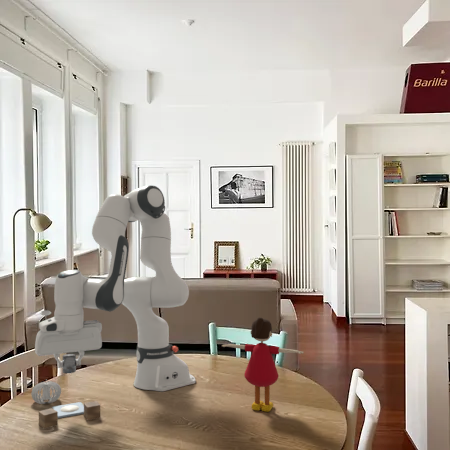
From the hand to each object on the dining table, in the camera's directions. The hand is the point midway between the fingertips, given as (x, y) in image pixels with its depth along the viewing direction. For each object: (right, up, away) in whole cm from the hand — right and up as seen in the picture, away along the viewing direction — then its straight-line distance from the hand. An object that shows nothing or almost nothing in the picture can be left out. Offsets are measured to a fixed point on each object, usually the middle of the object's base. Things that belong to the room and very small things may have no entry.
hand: (69, 366), depth 167 cm
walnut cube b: (-3, -15, -10) cm, 18 cm away
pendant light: (-10, -14, +9) cm, 19 cm away
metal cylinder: (0, -2, 0) cm, 2 cm away
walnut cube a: (+8, -15, -4) cm, 17 cm away
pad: (0, -14, 0) cm, 14 cm away
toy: (+60, -15, +1) cm, 62 cm away
